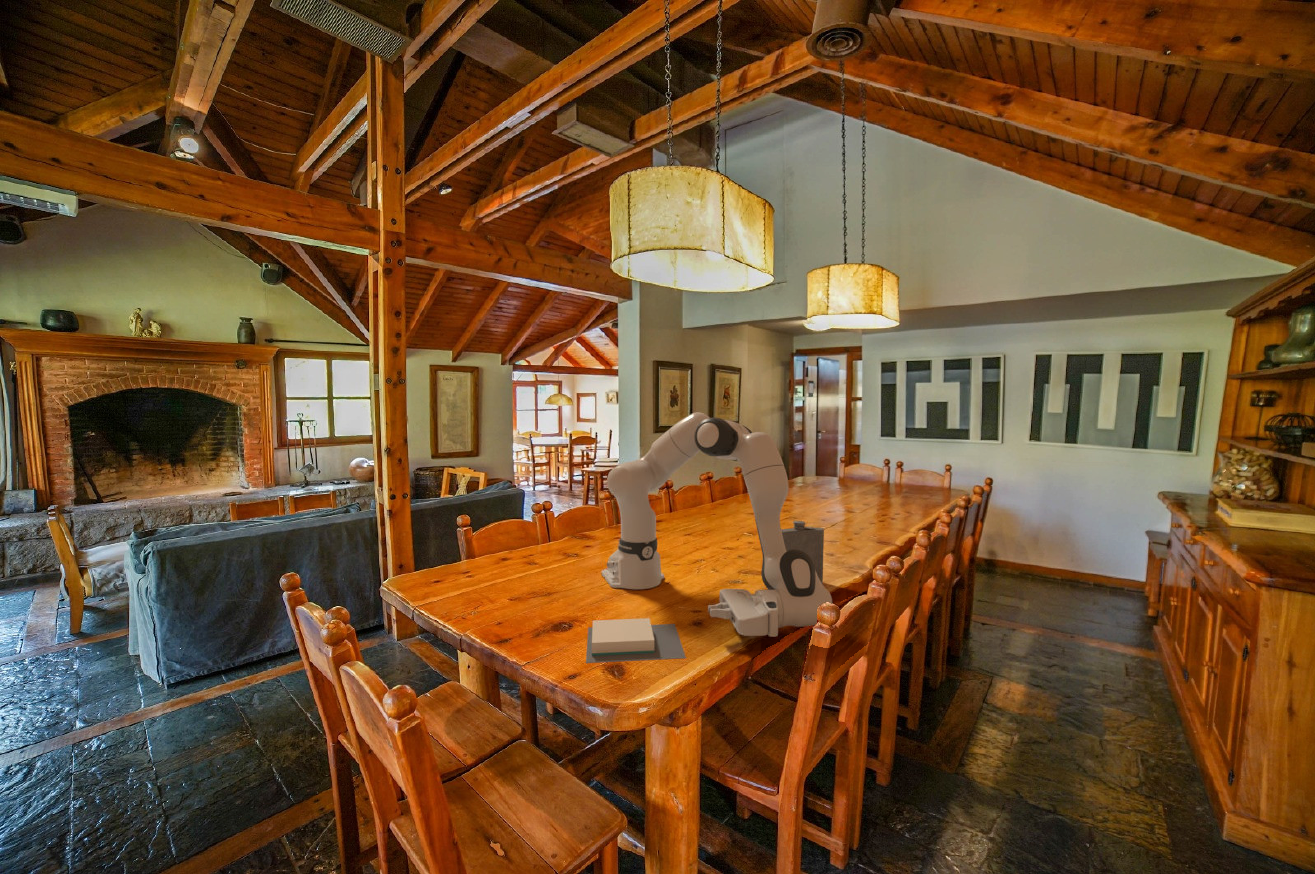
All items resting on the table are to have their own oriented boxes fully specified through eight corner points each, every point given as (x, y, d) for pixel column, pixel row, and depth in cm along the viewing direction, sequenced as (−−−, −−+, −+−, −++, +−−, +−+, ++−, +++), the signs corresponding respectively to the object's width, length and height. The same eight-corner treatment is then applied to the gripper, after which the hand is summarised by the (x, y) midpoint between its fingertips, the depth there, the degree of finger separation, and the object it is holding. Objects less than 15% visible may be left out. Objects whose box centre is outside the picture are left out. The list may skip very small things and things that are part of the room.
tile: (649, 618, 128) (592, 620, 127) (654, 640, 116) (591, 642, 115) (649, 630, 128) (592, 632, 127) (654, 653, 116) (591, 656, 115)
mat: (674, 625, 132) (674, 623, 132) (685, 659, 114) (686, 658, 114) (588, 629, 130) (588, 627, 130) (585, 664, 112) (585, 663, 112)
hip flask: (777, 587, 160) (778, 524, 158) (772, 583, 164) (773, 521, 162) (824, 584, 163) (826, 521, 162) (818, 580, 167) (819, 519, 166)
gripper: (753, 581, 135) (701, 583, 133) (779, 612, 115) (718, 615, 113) (752, 605, 135) (700, 607, 134) (779, 640, 115) (718, 643, 114)
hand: (709, 611), depth 123 cm, fingers closed
